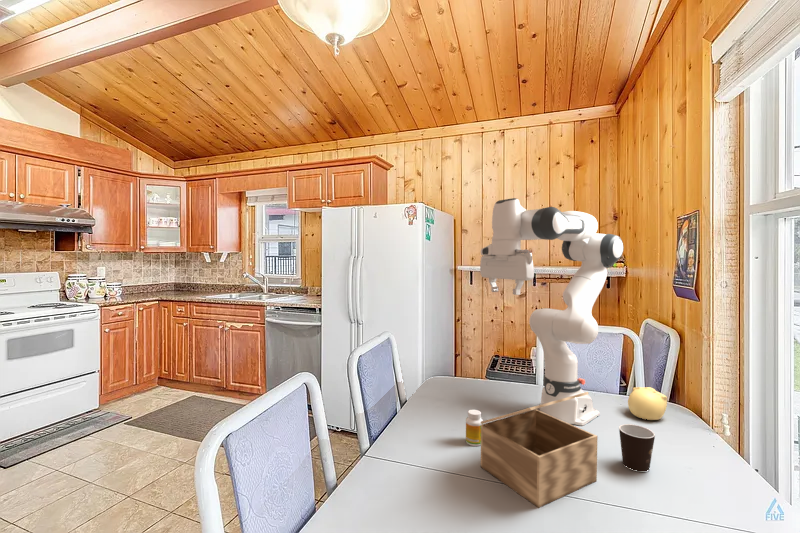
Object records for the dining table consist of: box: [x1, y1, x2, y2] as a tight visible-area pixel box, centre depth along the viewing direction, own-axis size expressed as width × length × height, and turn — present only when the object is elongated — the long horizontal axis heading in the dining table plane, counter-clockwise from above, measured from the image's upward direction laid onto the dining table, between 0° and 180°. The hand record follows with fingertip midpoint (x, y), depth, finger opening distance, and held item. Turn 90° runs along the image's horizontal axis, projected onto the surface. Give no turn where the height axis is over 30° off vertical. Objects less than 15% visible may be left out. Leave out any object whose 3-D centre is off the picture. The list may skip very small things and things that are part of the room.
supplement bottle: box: [465, 409, 484, 447], centre depth 122 cm, size 5×5×10 cm
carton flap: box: [481, 391, 590, 424], centre depth 106 cm, size 22×20×1 cm
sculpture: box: [627, 386, 668, 421], centre depth 142 cm, size 12×12×11 cm
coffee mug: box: [618, 423, 656, 471], centre depth 110 cm, size 12×9×10 cm
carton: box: [480, 409, 599, 509], centre depth 105 cm, size 22×20×12 cm
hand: (505, 293), depth 123 cm, fingers open, 8 cm apart
